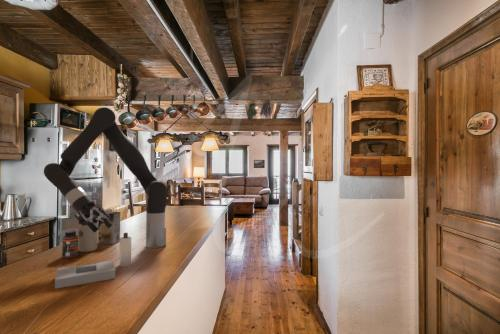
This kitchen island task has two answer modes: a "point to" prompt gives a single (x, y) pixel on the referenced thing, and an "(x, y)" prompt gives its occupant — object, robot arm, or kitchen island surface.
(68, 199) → the robot arm
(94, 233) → the travel mug
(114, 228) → the coffee box
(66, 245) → the supplement bottle
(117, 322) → the kitchen island surface
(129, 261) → the plug
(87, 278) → the socket
